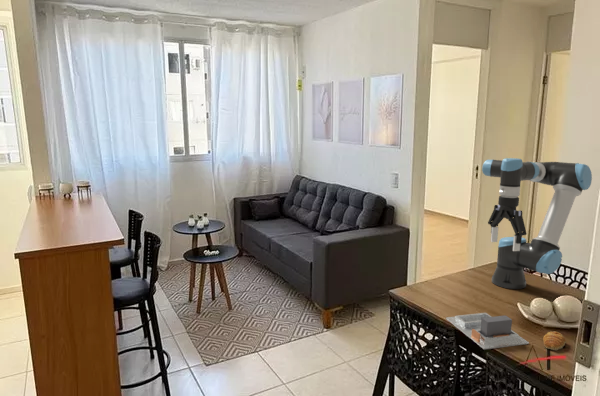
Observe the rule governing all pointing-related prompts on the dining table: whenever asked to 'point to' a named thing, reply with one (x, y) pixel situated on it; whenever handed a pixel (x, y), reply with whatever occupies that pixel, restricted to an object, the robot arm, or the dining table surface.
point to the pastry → (554, 340)
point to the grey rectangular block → (495, 326)
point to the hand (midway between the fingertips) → (504, 246)
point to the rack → (472, 329)
